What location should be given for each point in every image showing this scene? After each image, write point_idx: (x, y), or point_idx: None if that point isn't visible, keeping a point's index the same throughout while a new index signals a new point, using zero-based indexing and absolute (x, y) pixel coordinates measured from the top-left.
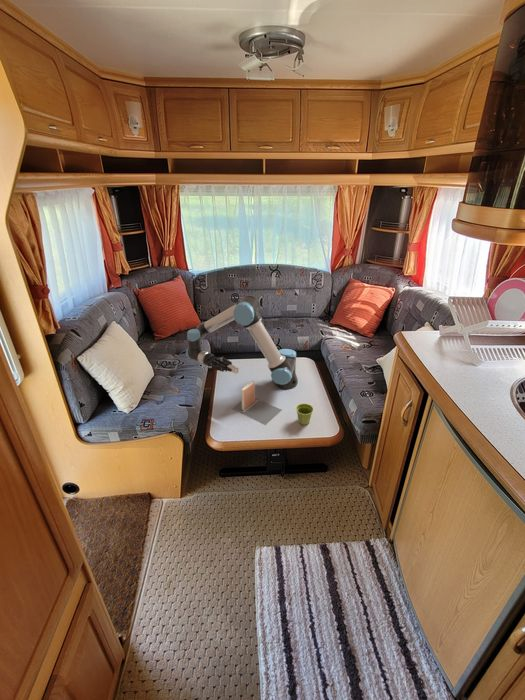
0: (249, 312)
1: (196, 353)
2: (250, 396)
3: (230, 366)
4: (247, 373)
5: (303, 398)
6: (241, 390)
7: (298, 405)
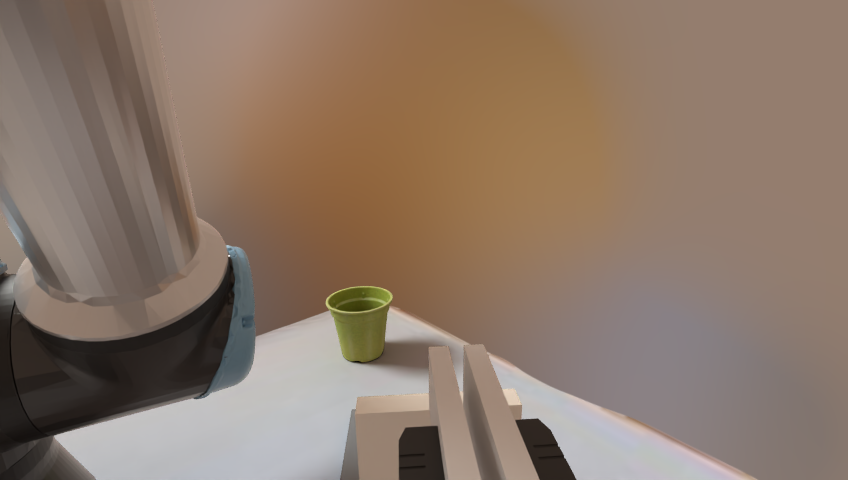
0: None
1: None
2: None
3: (475, 467)
4: None
5: (204, 407)
6: (520, 416)
7: (351, 312)
